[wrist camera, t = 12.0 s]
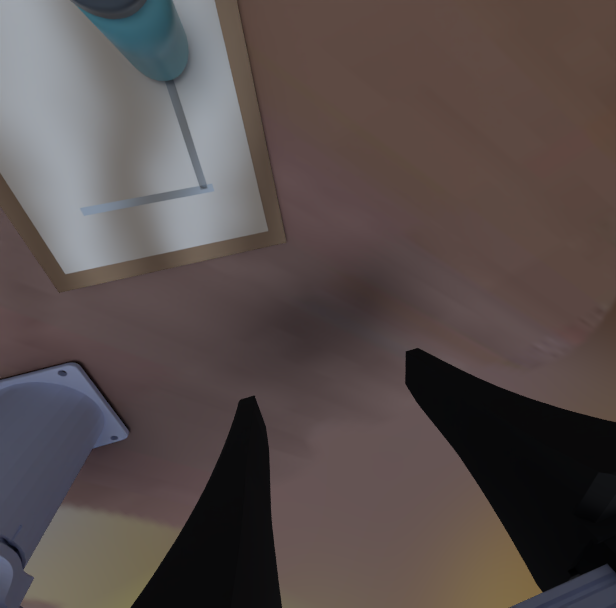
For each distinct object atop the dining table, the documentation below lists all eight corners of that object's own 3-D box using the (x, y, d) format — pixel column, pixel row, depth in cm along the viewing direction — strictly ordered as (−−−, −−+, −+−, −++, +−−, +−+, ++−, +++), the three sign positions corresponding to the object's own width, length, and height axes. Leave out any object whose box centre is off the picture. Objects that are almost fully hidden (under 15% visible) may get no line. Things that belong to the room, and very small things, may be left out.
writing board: (67, 287, 16) (56, 294, 15) (-154, -48, 10) (-193, -71, 9) (284, 240, 18) (286, 243, 17) (220, -72, 11) (218, -93, 10)
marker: (140, 91, 12) (50, 12, 7) (108, 7, 11) (-40, -184, 5) (201, 82, 13) (166, 0, 7) (177, -1, 11) (109, -189, 6)
